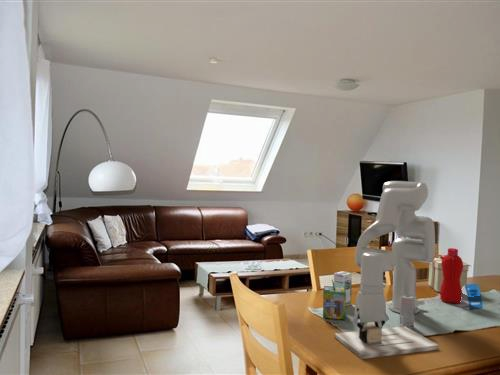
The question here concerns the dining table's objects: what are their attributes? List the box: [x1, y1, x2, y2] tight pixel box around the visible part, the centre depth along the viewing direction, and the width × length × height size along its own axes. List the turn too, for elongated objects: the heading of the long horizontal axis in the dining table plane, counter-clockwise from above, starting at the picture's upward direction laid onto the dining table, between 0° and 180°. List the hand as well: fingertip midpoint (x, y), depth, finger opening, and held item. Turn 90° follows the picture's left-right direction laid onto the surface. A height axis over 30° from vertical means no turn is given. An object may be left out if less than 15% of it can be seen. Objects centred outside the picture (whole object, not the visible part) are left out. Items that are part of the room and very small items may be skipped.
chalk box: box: [322, 279, 347, 321], centre depth 178 cm, size 9×9×15 cm
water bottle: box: [439, 247, 463, 304], centre depth 201 cm, size 9×11×25 cm
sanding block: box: [358, 322, 382, 345], centre depth 149 cm, size 7×4×5 cm, turn 17°
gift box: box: [427, 254, 471, 293], centre depth 223 cm, size 17×18×17 cm
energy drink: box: [398, 295, 415, 330], centre depth 167 cm, size 5×5×12 cm
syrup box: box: [333, 270, 353, 307], centre depth 194 cm, size 6×6×14 cm
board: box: [334, 326, 440, 360], centre depth 151 cm, size 30×18×2 cm, turn 107°
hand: (369, 339), depth 149 cm, fingers closed on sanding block, 4 cm apart
